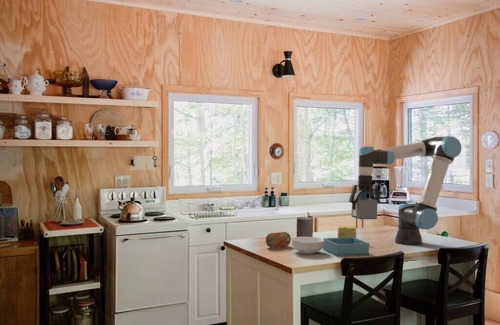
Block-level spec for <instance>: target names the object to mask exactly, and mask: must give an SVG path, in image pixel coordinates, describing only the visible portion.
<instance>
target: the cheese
mask: <svg viewBox="0 0 500 325" xmlns="http://www.w3.org/2000/svg"><path fill="white" fill-rule="evenodd" d="M344 237H354V238H357V225H338V228H337V238H344Z"/></svg>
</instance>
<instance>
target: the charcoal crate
mask: <svg viewBox="0 0 500 325" xmlns="http://www.w3.org/2000/svg"><path fill="white" fill-rule="evenodd" d="M356 204H357V216H354V215H353V209H352V208H351V217H352V218H354V219H358V220H378V205H379V203H378V201H377V200H372V199H371V198H359V199H358V200H357V202H356Z"/></svg>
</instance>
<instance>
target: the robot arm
mask: <svg viewBox="0 0 500 325" xmlns="http://www.w3.org/2000/svg"><path fill="white" fill-rule="evenodd" d="M461 152H462V143H461V142H460V140H459V139H458V138H457V137H455V136H452V135H451V136H450V135H446V136H435V137H431V138H426V139H421V140H418V141H417V142H414V143H409V144H403V145H402V144H401V145H398V146H396V145H395V146H391V147H384V148H379V149H374V146H370V145H369V146H366V145H365V146H364V145H363V146H360V147H359V152H358V176H357V177H358V178H357V181H358V183H357V184H352V189H351V193H350V196H349V200H348V202H349V203H351V210H352V209H353V215H354V216H357V204H356V202H357V200H358V199H360V197H361V195H362V194H363V193H367V194H368V195H369V197H370V198H369V199H372V200H377V201H378V204H379V203H380V202H381V199H380V198H381V197H380V194H379V190H378V186H379V185H378V184H373V178H374V176H373V174H374V165H386V166H389V165H392V164H393V163H394V162H395V161H396V160H401V159H407V158H415V157H421V158H422V157H423V158H424V157H431V158H432V163H431V165H430V169H429V171H428V175H427V178H426V181H425V184H424V186H423V190H422V193H421V196H420V198H419V200H417V201H415V203H400V204H399V205H398V219H397V220H398V223H397V224H398V229H397V232H396V234H395V238H394V242H395V243H397V244H399V245H407V246H410V245H411V246H417V245H418V246H419V245H422V244H423V238H422V234H421V232H420V230H431V229H433V228H434V227H435V226H436V225H437V223H438V221H439V216H438V213H437V210H438V207H437V206H436V204H437V201H438V199H439V195H440V192H441V190H442V187H443V184H444V180H445V177H446V175H447V171H448V168H449V166H450V165H451V164H452V163H454V160H455V158H457V157H458V156H459V155H460V154H461ZM372 189H373V190H372Z"/></svg>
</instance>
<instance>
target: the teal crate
mask: <svg viewBox="0 0 500 325" xmlns="http://www.w3.org/2000/svg"><path fill="white" fill-rule="evenodd" d="M322 239H323V240H324V246H323V248H322V250H323V251H324V252H327V253H329V254H331V255H333V256H335V257H352V256H354V257H355V256H369V254H370V243H369V242H367V241H364V240H363V239H359V238H357V237H356V238H354V237H344V238H338V237H326V238H323V237H322Z"/></svg>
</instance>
